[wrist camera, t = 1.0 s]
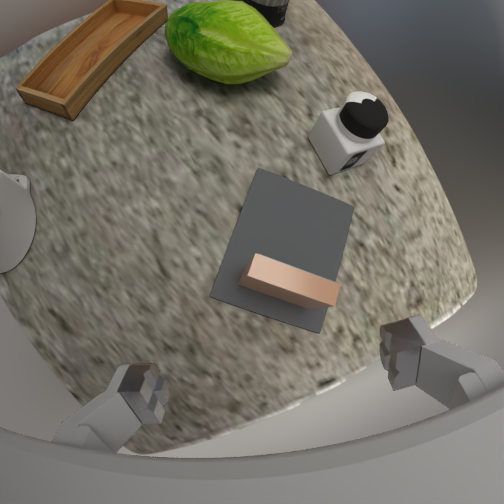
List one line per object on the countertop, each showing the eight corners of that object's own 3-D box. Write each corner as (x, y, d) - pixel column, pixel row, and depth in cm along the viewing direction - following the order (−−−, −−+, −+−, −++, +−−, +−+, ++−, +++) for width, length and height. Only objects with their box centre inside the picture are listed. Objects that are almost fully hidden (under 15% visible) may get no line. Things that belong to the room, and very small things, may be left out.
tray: (116, 12, 51) (113, -5, 45) (168, 22, 51) (167, 3, 46) (26, 105, 43) (14, 88, 38) (74, 123, 44) (63, 104, 38)
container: (364, 164, 49) (404, 125, 37) (328, 176, 48) (364, 134, 35) (342, 127, 50) (374, 82, 37) (306, 136, 49) (333, 88, 36)
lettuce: (293, 56, 51) (267, 115, 50) (187, 26, 50) (149, 80, 48) (312, 5, 37) (283, 65, 35) (182, -26, 35) (132, 29, 34)
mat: (209, 296, 41) (209, 296, 41) (257, 169, 46) (257, 167, 46) (318, 333, 42) (319, 333, 42) (352, 207, 47) (354, 206, 47)
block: (238, 284, 42) (247, 275, 32) (244, 266, 42) (255, 251, 33) (306, 308, 42) (334, 306, 33) (312, 290, 43) (341, 283, 33)
